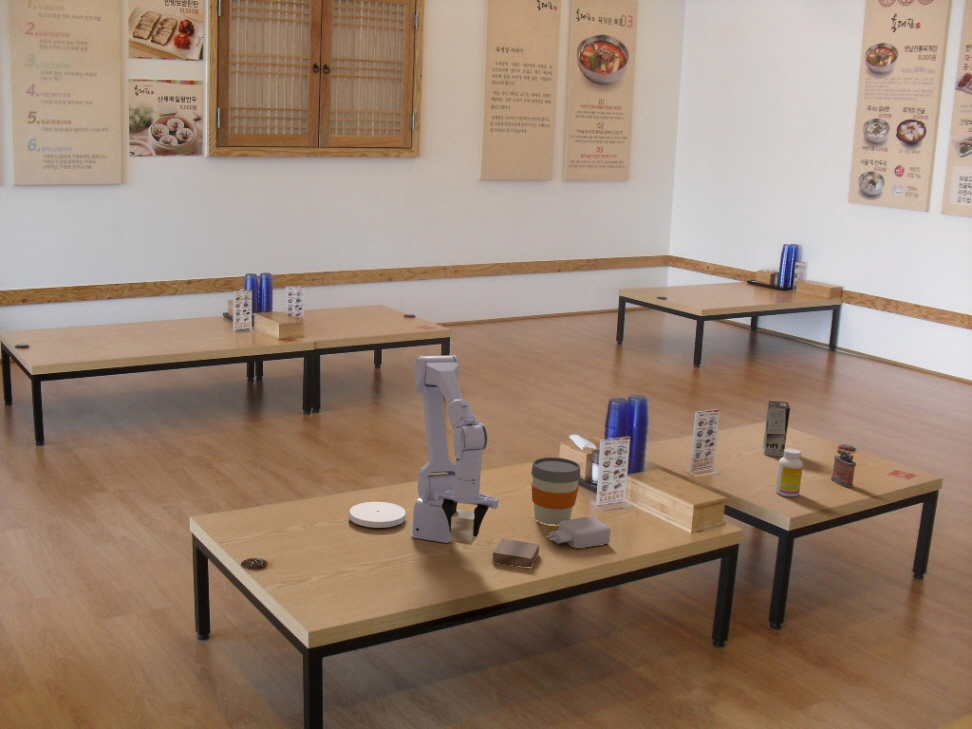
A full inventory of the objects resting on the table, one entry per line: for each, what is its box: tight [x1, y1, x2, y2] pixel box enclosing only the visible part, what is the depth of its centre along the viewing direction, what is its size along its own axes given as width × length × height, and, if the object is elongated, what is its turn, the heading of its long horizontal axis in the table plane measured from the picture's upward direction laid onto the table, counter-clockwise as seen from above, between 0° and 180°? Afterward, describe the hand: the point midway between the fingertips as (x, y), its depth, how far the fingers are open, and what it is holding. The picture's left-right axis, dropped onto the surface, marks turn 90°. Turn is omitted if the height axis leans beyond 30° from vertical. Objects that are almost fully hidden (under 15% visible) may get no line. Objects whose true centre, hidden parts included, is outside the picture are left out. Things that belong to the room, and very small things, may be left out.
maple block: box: [449, 509, 478, 546], centre depth 248 cm, size 5×5×6 cm
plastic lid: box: [348, 501, 407, 529], centre depth 272 cm, size 14×14×2 cm
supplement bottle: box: [775, 448, 804, 498], centre depth 310 cm, size 7×7×13 cm
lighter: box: [830, 448, 857, 489], centre depth 323 cm, size 8×3×10 cm, turn 22°
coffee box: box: [762, 400, 791, 458], centre depth 350 cm, size 9×6×16 cm
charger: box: [545, 516, 611, 549], centre depth 265 cm, size 5×9×15 cm
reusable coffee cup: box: [530, 456, 581, 525], centre depth 278 cm, size 13×13×15 cm
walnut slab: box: [492, 538, 540, 568], centre depth 253 cm, size 9×9×3 cm
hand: (464, 533), depth 248 cm, fingers closed on maple block, 5 cm apart
